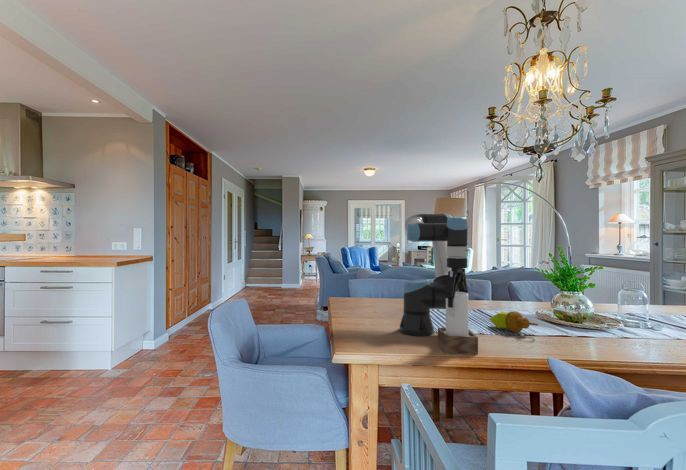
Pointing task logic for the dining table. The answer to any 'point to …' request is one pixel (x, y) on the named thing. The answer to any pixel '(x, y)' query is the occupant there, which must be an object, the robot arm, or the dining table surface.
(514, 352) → the dining table surface
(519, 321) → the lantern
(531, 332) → the dining table surface
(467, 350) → the brown wooden square box
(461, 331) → the cup
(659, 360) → the dining table surface
